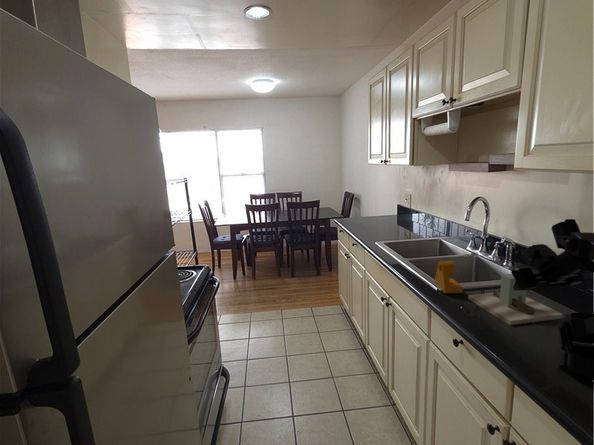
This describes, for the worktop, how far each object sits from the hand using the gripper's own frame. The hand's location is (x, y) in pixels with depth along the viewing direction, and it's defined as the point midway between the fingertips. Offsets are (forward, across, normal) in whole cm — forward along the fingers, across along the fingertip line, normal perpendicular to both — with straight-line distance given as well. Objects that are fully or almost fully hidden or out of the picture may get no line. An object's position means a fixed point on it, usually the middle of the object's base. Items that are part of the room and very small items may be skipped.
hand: (527, 287), depth 98 cm
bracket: (+33, +4, -13) cm, 36 cm away
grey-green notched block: (+17, -7, 0) cm, 19 cm away
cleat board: (+18, -7, +1) cm, 20 cm away
